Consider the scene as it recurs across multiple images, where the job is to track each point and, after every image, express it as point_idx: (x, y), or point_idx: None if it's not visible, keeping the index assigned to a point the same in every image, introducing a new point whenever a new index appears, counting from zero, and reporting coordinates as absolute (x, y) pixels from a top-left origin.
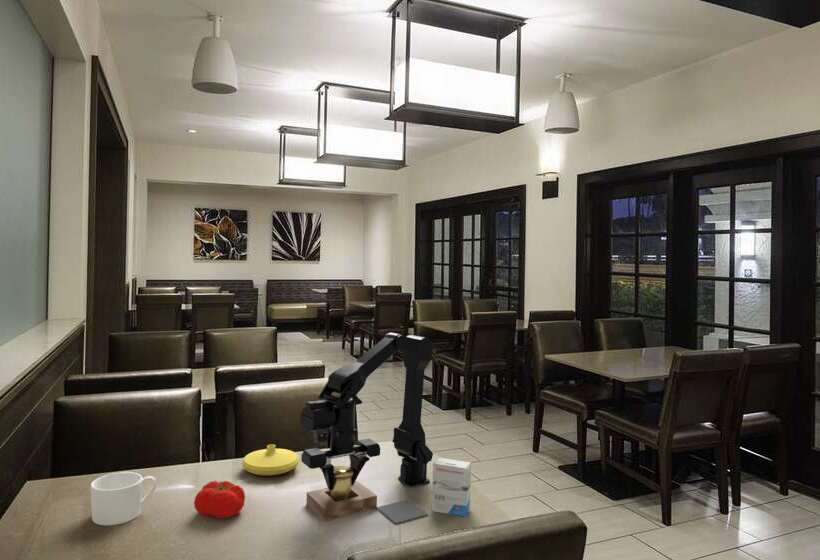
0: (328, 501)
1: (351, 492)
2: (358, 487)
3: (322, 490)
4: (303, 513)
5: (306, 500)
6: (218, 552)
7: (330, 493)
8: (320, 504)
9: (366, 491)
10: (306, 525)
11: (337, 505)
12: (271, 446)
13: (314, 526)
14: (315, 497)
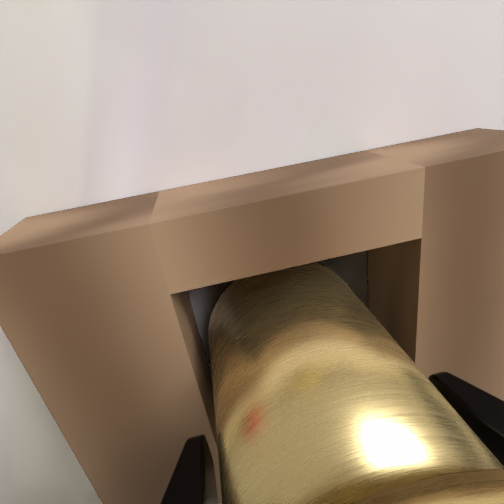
0: (170, 457)
1: (403, 297)
2: (488, 284)
3: (159, 260)
4: (2, 345)
5: (9, 230)
6: None
7: (213, 381)
8: (98, 488)
9: (492, 361)
10: (25, 470)
11: (220, 501)
12: None
13: (72, 481)
14: (66, 382)
